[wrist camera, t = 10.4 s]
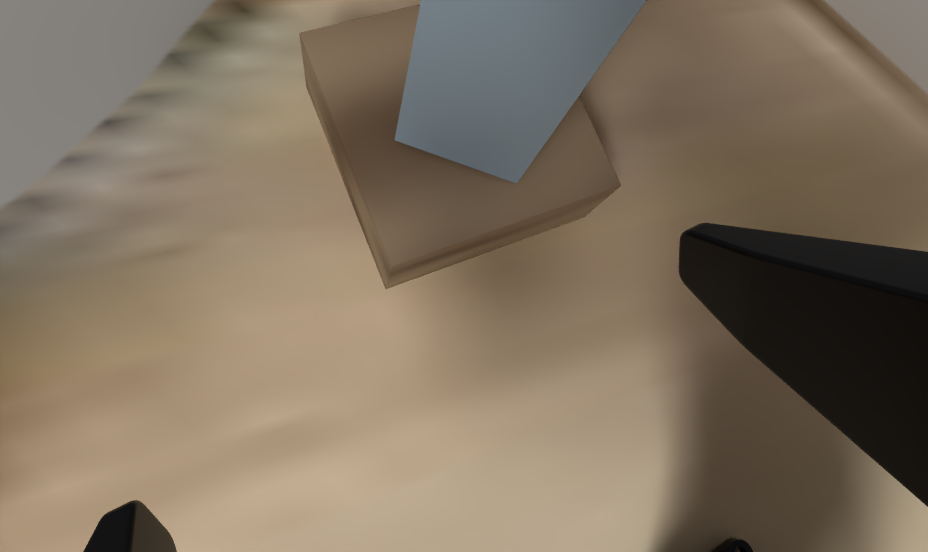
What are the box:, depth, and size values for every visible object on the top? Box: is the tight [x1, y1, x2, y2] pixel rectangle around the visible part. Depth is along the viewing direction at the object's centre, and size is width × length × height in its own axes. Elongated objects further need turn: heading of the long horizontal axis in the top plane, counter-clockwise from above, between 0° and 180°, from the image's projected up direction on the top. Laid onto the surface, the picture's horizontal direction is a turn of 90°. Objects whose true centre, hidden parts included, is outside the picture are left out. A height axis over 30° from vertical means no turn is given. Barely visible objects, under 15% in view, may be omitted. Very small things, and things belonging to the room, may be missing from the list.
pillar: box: [395, 0, 647, 184], centre depth 16 cm, size 4×4×11 cm
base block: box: [299, 5, 621, 289], centre depth 23 cm, size 9×9×4 cm
